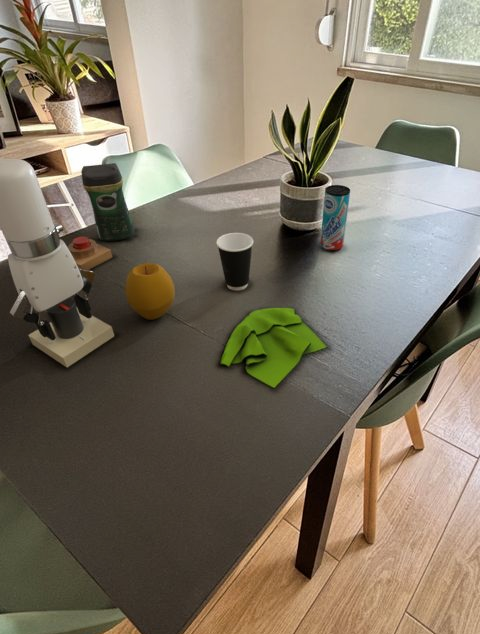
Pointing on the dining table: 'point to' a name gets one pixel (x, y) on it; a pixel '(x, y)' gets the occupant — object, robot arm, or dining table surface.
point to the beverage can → (334, 217)
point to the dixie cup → (235, 259)
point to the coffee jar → (108, 201)
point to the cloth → (270, 344)
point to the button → (81, 243)
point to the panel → (74, 341)
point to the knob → (65, 319)
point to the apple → (149, 290)
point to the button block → (90, 255)
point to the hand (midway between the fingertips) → (68, 325)
